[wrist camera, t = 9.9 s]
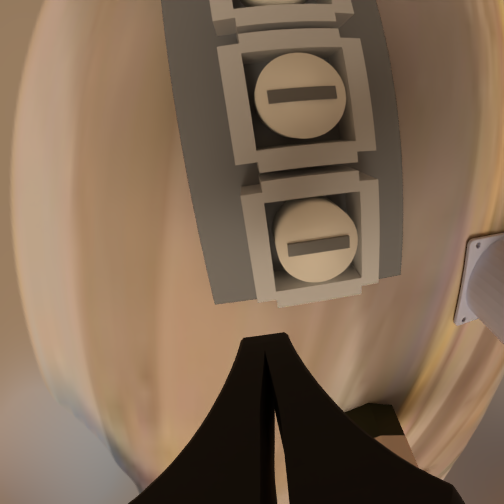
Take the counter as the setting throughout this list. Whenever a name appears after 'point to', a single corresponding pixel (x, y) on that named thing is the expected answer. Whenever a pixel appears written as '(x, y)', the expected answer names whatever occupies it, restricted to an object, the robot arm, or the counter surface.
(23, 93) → the counter surface
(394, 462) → the robot arm
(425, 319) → the counter surface
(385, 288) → the counter surface
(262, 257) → the mount board
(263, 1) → the knob
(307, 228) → the knob
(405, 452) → the wine bottle
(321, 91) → the knob
